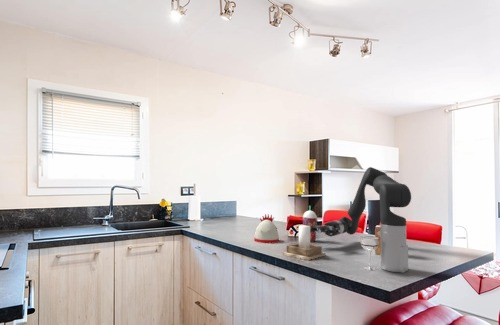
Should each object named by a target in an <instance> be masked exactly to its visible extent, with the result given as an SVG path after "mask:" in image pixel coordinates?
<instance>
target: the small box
mask: <svg viewBox="0 0 500 325" xmlns="http://www.w3.org/2000/svg"><path fill="white" fill-rule="evenodd" d="M374 228H375V229H374V237H377V238H378V242H379V245H378V247H377V248H376V249H375V250H374V254H375V255H380V256H381V225H379V224H378V225H376V226H375V227H374Z"/></svg>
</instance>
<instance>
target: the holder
mask: <svg viewBox="0 0 500 325" xmlns="http://www.w3.org/2000/svg"><path fill="white" fill-rule="evenodd" d="M322 249H323V248H322V246H321V245H315V244H311V243H310V249H304V248H299V242H298V243H294V244H289V245H286V251H283V252H282V256H287V257H292V258H295V257H296V259H300V258H301V260H304V259H306V260H305V261H312V260H315V258H316V259H319V258H321V257H324V256H326V255H327V253H326V252H322V251H323V250H322ZM318 257H319V258H318ZM311 259H312V260H311Z"/></svg>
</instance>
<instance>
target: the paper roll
mask: <svg viewBox="0 0 500 325" xmlns="http://www.w3.org/2000/svg"><path fill="white" fill-rule="evenodd" d="M298 243H299V248H304V249H310V244H311V242H310V226H304V225H303V224H302V225H299V226H298Z"/></svg>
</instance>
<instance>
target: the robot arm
mask: <svg viewBox="0 0 500 325" xmlns="http://www.w3.org/2000/svg"><path fill="white" fill-rule="evenodd" d="M367 186H370V187H372V188H373V189H374V191H375V192H376V193H377V194H378V195H379V209H380V210H379V212H380V215H379V216H380V225H379V226H381V255H380V268H381V269H382V270H384V271H387V272H393V273H403V274H404V273H406V272H407V271H409V245H408V244H407V219H406V218H405V217H404V216H402V215H401V216H400V215H398V214H395V213H394V212H392V211H391V208H406V207H408V206H409V205H410V203H411V202H412V192H411V190H410V188H409V187H408V186H407V184H405V183H400V182H398V181H397V180H395V179H393V178H392V177H390V176H389V175H388V174H387V173H385V172H384V171H382V170H379V169H377V168H374V167H371V166H369V167H367V169H366V170H365V171H364V173H363V175H362V178H361V180H360V184H358V189H357V191H356V193H355V196H354V199H353V201H352V203H351V205H350V206H349V209H348V211H347V215H348V216H349V217H347V216H342V217H341V218H339V219H338V220H331V221H326V222H325V223H324V224H323V225H318V224H317V225H316V226H311V228H310V232H316V233H319V234H325V235H326V236H327V237H335V236H338V235H341V234H344V233H347V235H354V234H356V233H357V231H358V228H359V223H360V218H361V217H362V214H363V213H364V211H365V210H366V205H367V203H366V202H367V201H366V192H365V191H366V187H367Z"/></svg>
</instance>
